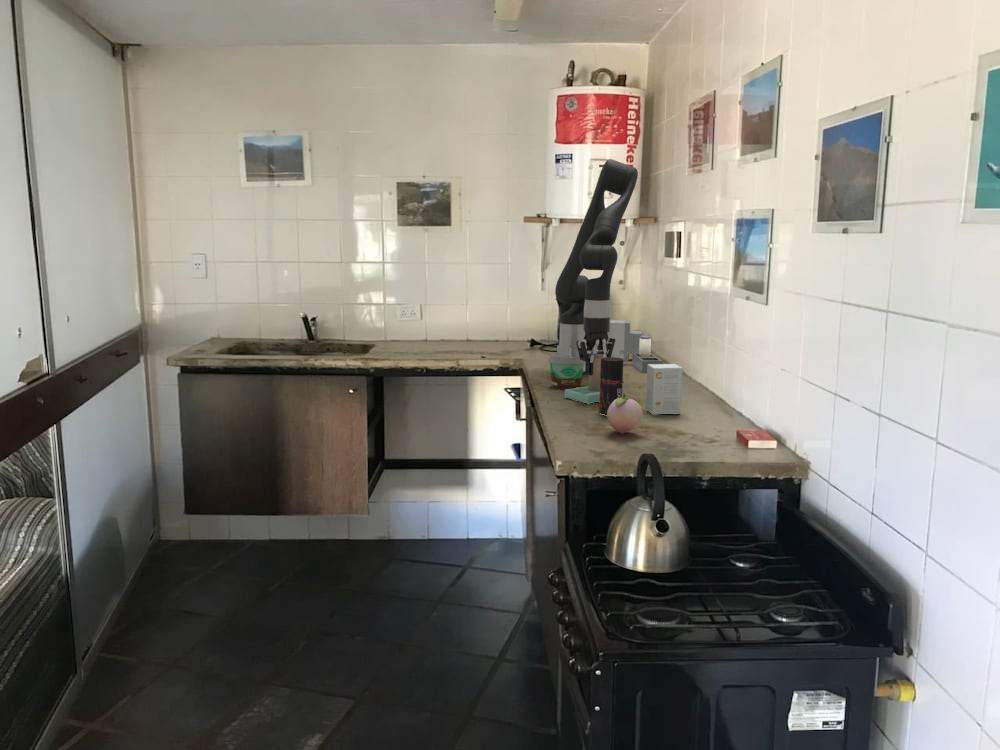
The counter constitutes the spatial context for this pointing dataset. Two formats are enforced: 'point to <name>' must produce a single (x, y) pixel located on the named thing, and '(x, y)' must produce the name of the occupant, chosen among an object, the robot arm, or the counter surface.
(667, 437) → the counter surface
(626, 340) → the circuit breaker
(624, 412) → the decorative fruit
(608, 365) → the deodorant
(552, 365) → the food container
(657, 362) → the holder
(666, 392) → the small box
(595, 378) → the brown tall block
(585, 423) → the counter surface
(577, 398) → the parts tray
